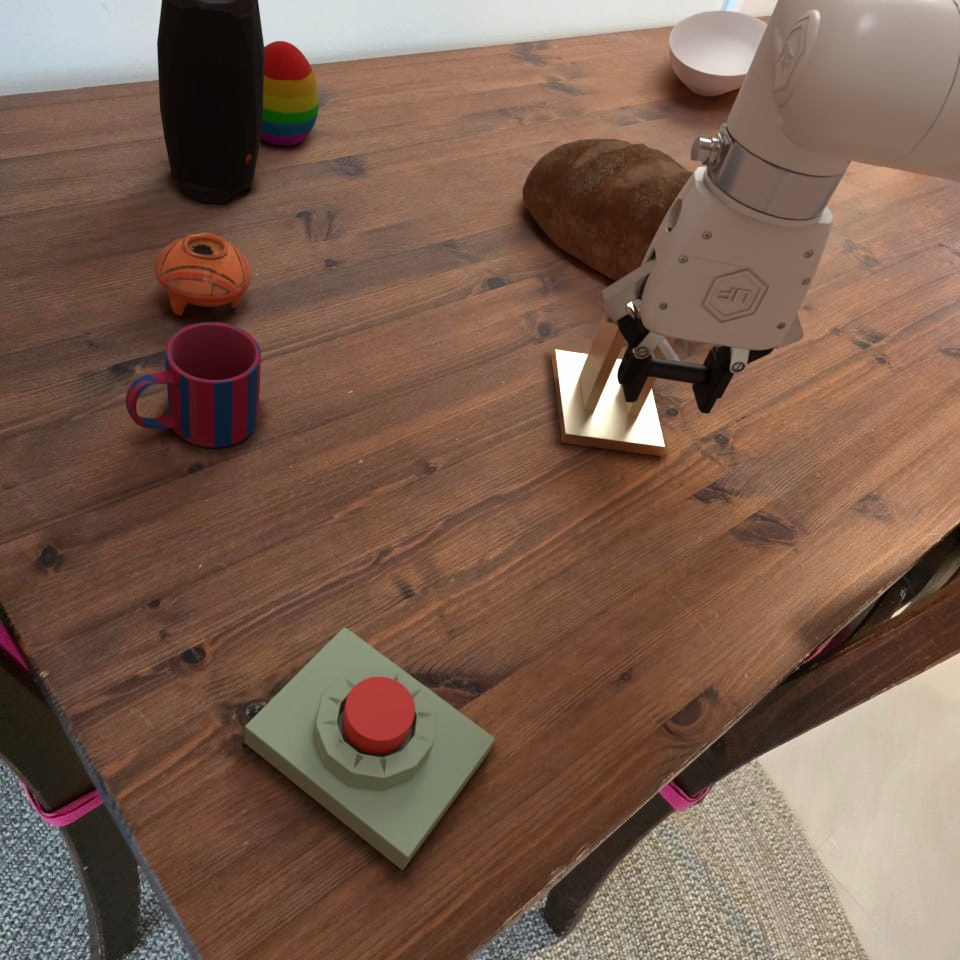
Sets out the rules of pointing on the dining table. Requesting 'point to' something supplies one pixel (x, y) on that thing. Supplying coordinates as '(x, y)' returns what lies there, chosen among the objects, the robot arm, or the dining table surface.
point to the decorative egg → (288, 95)
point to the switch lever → (674, 363)
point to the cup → (206, 385)
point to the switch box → (357, 774)
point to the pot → (202, 272)
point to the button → (378, 715)
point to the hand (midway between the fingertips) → (664, 393)
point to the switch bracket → (604, 398)
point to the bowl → (714, 50)
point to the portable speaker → (211, 94)
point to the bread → (603, 200)
